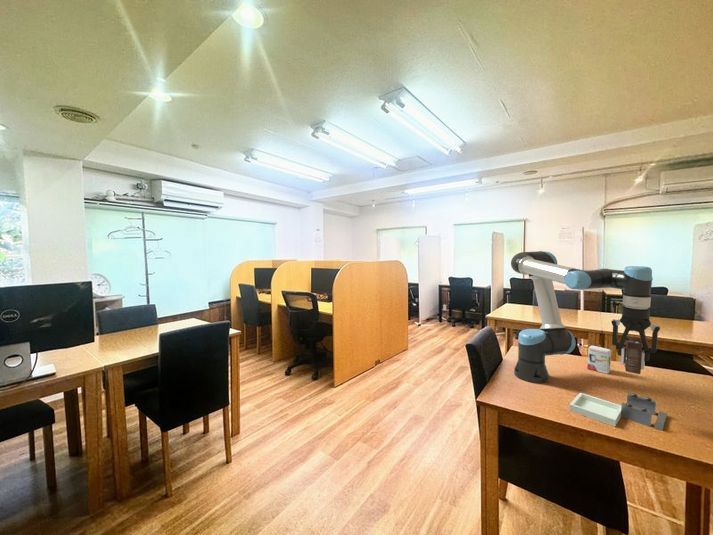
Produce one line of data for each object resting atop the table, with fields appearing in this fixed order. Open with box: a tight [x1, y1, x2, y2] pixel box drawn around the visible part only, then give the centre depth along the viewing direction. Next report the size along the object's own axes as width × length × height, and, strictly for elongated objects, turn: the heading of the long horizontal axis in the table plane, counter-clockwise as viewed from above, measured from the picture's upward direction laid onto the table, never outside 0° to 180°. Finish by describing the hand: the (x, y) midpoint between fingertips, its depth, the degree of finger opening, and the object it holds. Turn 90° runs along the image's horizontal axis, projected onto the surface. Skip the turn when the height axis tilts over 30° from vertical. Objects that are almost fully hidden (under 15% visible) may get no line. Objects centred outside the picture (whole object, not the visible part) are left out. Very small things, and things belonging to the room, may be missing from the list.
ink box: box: [587, 345, 612, 374], centre depth 150 cm, size 9×5×12 cm, turn 37°
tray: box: [568, 392, 622, 427], centre depth 115 cm, size 14×14×3 cm
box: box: [623, 337, 643, 375], centre depth 111 cm, size 6×4×12 cm
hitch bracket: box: [620, 392, 668, 431], centre depth 110 cm, size 11×13×6 cm
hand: (632, 365), depth 111 cm, fingers closed on box, 5 cm apart
